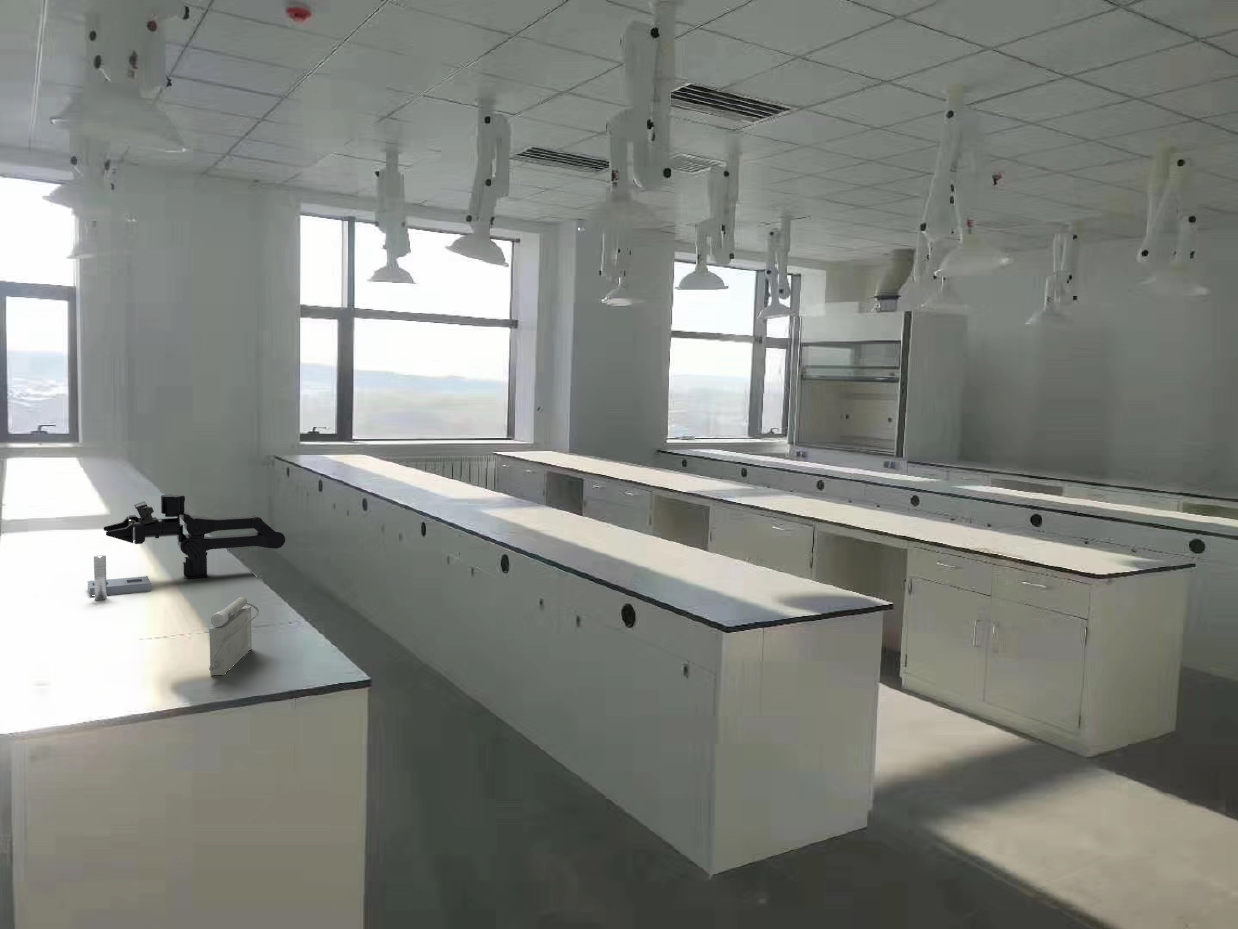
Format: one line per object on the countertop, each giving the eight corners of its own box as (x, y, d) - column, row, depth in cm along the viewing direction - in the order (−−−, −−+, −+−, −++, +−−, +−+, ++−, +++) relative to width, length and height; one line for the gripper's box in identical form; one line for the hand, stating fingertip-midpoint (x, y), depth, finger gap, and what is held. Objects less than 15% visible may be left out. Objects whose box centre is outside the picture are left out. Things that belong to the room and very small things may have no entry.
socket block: (147, 584, 281) (147, 576, 281) (151, 591, 273) (151, 582, 273) (87, 589, 273) (87, 581, 272) (90, 596, 264) (89, 588, 264)
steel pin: (106, 597, 264) (105, 555, 263) (107, 599, 262) (106, 557, 261) (94, 598, 263) (93, 555, 262) (95, 600, 260) (94, 557, 259)
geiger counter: (234, 593, 220) (194, 621, 195) (261, 593, 220) (225, 621, 196) (235, 649, 221) (196, 684, 197) (261, 649, 222) (226, 684, 197)
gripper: (157, 498, 293) (101, 501, 285) (164, 506, 278) (106, 509, 269) (157, 532, 295) (102, 536, 286) (165, 542, 279) (107, 546, 270)
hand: (104, 531), depth 278 cm, fingers open, 9 cm apart
